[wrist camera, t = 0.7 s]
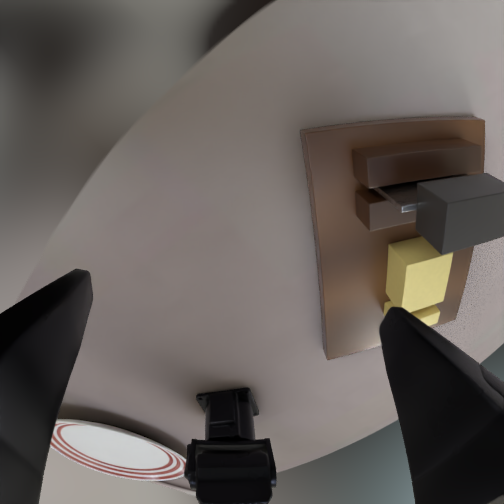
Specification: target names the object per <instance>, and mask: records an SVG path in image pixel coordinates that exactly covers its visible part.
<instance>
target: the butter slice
mask: <svg viewBox="0 0 504 504" xmlns="http://www.w3.org/2000/svg"><path fill="white" fill-rule="evenodd" d="M393 306H394V305H393V303H392V301H388V302H385V304H384V316H385V315H386V313H387V311H388V310H389V309H390V308H391V307H393ZM394 307H395V306H394ZM410 313H411V314H413V315H414V316H416V317H417V318H418V319H420V320H421V321H422V322H424V323H425V324H427V325H428V326H430V325H433V324H436V323H438V319H439V315H440V310H439V309H438V308H437V306H436V305H435V304H434V305H431V306H428V307H425V308H422V309H419V310H416V311H413V312H410Z"/></svg>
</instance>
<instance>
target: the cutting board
mask: <svg viewBox="0 0 504 504" xmlns="http://www.w3.org/2000/svg"><path fill="white" fill-rule="evenodd" d="M300 134H301V141H302V147H303V153H304V160H305V167H306V174H307V181H308V188H309V195H310V203H311V211H312V219H313V228H314V237H315V246H316V256H317V266H318V277H319V288H320V300H321V314H322V328H323V345H324V352H325V356H326V359H327V360H330V359H334V358H338V357H342V356H346V355H349V354H353V353H357V352H360V351H364V350H367V349H371V348H374V347H377V346H381V340H380V336H379V326H380V324H381V322H382V320H383V319H384V317H385V316H384V304H385V302H388V301H391V300H390V298H389V297H388V295H387V294H386V281H387V266H388V247H389V244H392V243H396V242H400V241H404V240H408V239H413V238H417V237H421V235H420V234H419V233H418V232H417V231H416V229H415V227H416V210H413V211H408V212H403V213H402V212H400V211H399V210H398V209H397V208H396V207H395V206H393V205H392V204H391V203H390V202H389V201H388V200H386V199H385V198H384V197H383V196H382V195H380V194H379V193H378V192H377V191H375V190H374V189H373V188H375V187H381V186H387V185H393V184H399V183H405V182H412V181H418V180H424V179H431V178H438V177H445V176H451V175H459V174H467V175H475V174H482V173H484V154H485V120H483V119H480V118H476V117H423V118H404V119H390V120H378V121H367V122H357V123H348V124H340V125H332V126H325V127H318V128H311V129H304V130H300ZM473 248H474V246H472V247H468V248H465V249H462V250H458V251H455V252H453V257H452V263H451V268H450V273H449V278H448V283H447V287H446V292H445V296H444V300H443V301H442V302H440V303H437V304H435V305H436V306H437V308H438V309H439V310H440V315H439V319H438V323H436V324H433V325H430V326H429V327H431V328H434V327H437V326H439V325H442V324H445V323H447V322H450V321H452V320H455V319H456V316H457V312H458V309H459V306H460V302H461V299H462V295H463V291H464V288H465V284H466V280H467V276H468V271H469V267H470V263H471V258H472V253H473Z"/></svg>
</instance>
